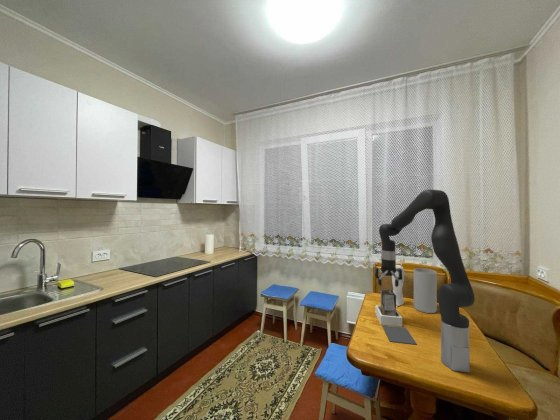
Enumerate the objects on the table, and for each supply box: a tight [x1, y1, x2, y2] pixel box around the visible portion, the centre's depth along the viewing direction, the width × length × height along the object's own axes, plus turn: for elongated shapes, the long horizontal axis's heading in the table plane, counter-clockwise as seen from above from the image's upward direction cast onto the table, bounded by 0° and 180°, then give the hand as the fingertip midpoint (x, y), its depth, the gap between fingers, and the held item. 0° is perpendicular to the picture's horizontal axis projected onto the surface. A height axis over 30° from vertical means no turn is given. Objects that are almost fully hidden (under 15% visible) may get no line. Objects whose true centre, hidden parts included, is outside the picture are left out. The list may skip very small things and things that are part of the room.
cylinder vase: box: [413, 267, 438, 314], centre depth 145 cm, size 12×12×25 cm
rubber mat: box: [381, 325, 418, 346], centre depth 115 cm, size 15×12×1 cm
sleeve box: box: [374, 304, 403, 328], centre depth 131 cm, size 14×11×5 cm
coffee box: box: [380, 289, 397, 316], centre depth 131 cm, size 9×6×16 cm
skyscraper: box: [388, 261, 405, 307], centre depth 153 cm, size 8×8×28 cm
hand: (388, 285), depth 131 cm, fingers open, 8 cm apart
